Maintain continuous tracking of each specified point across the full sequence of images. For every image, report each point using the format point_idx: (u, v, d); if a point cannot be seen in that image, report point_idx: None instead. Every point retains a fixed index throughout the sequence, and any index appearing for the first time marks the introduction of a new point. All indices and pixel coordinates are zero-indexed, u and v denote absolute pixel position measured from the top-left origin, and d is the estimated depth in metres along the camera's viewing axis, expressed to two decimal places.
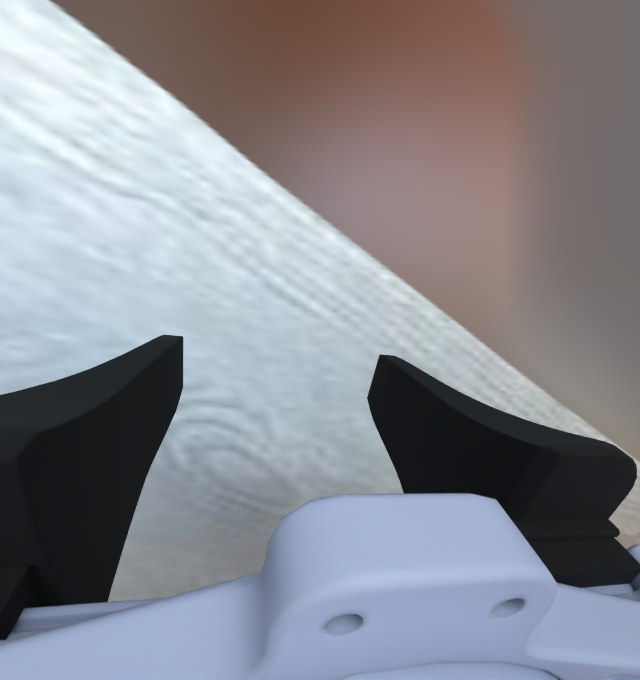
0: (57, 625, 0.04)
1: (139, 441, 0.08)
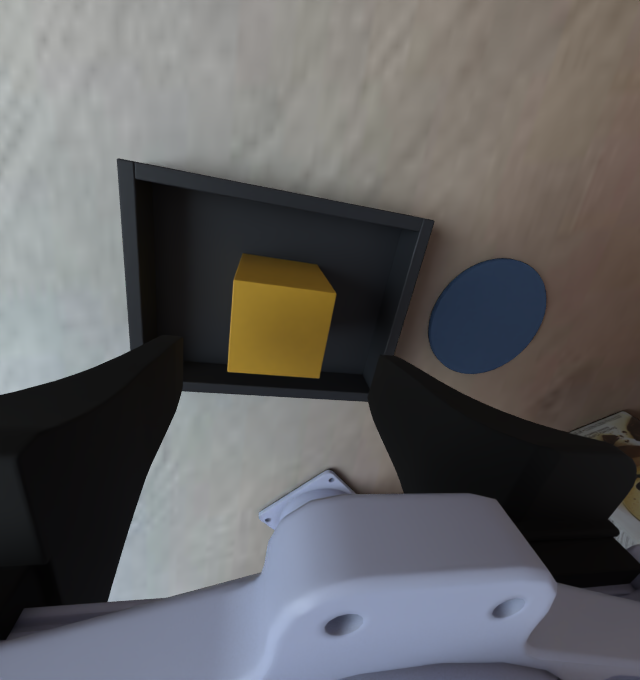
0: (57, 625, 0.04)
1: (139, 441, 0.08)
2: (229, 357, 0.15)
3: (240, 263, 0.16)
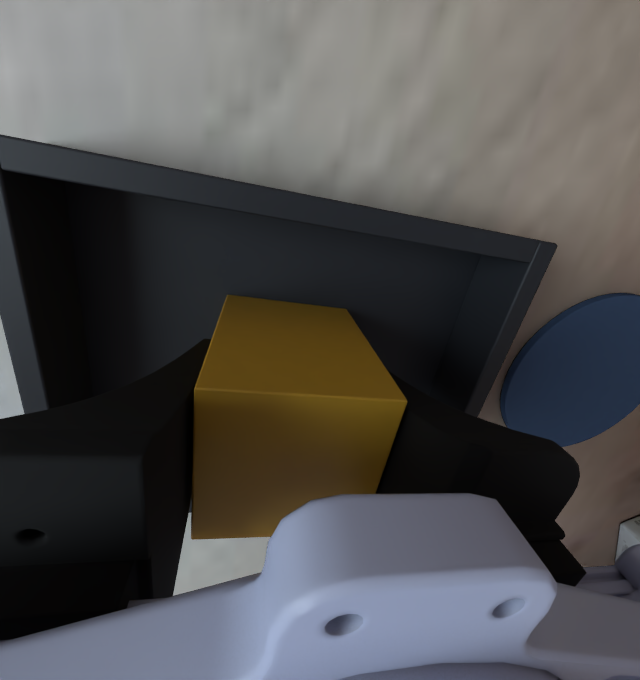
0: None
1: None
2: (194, 518, 0.08)
3: (219, 324, 0.09)
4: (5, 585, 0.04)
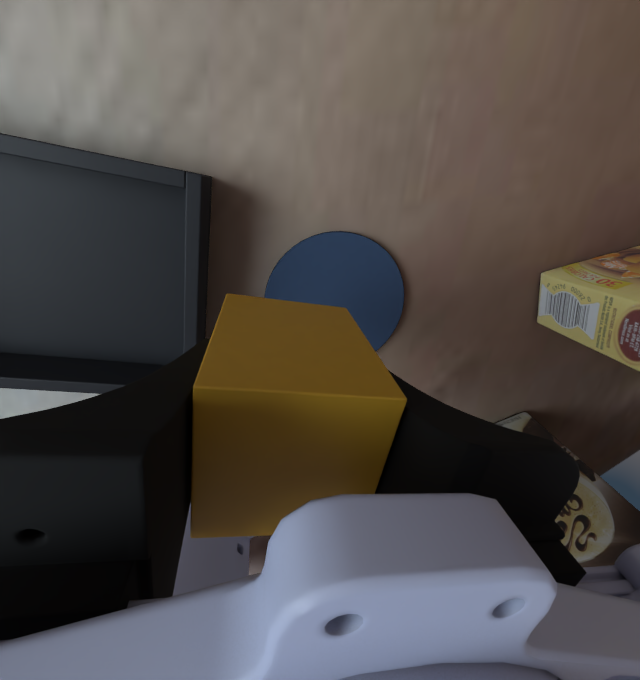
0: None
1: None
2: (193, 516, 0.08)
3: (218, 322, 0.09)
4: (5, 585, 0.04)
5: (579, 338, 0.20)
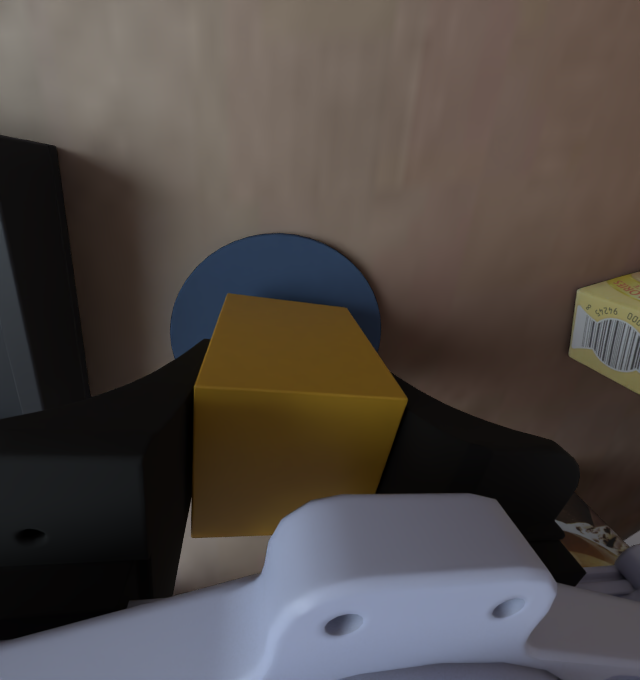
0: None
1: None
2: (193, 516, 0.08)
3: (219, 322, 0.09)
4: (5, 585, 0.04)
5: (638, 388, 0.14)
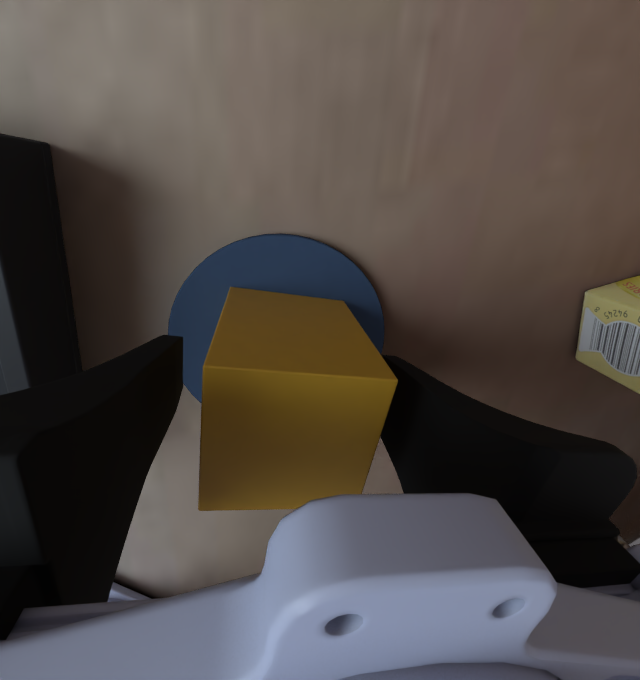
0: (57, 625, 0.04)
1: (139, 441, 0.08)
2: (201, 490, 0.08)
3: (223, 312, 0.10)
4: None
5: None
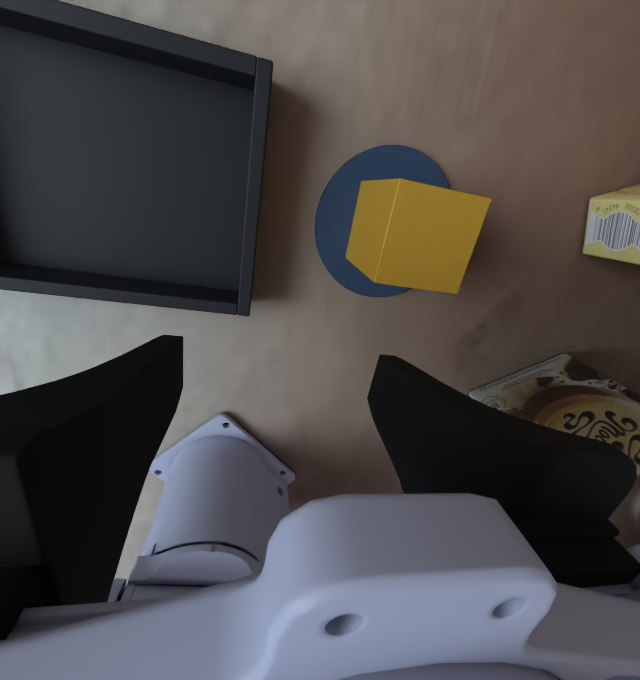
0: (57, 625, 0.04)
1: (139, 441, 0.08)
2: (379, 266, 0.15)
3: None
4: None
5: (633, 258, 0.20)
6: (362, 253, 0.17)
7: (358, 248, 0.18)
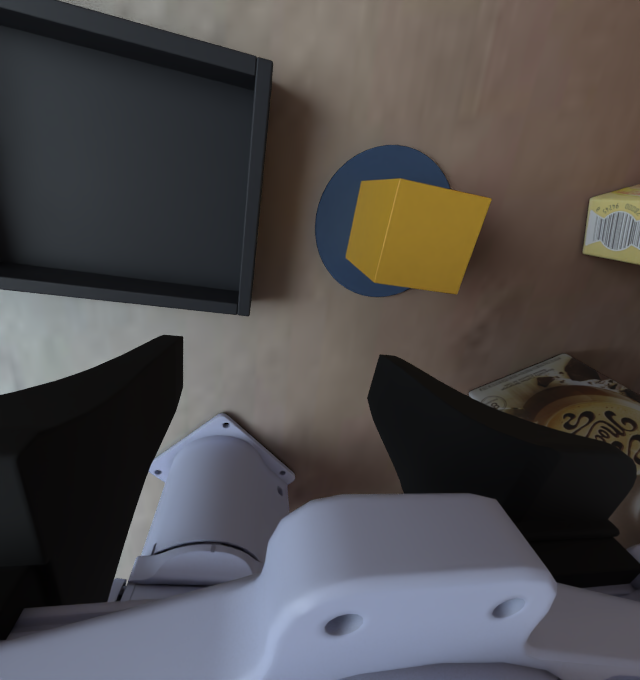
0: (57, 625, 0.04)
1: (139, 441, 0.08)
2: (379, 266, 0.15)
3: None
4: None
5: (633, 258, 0.20)
6: (362, 253, 0.17)
7: (358, 248, 0.18)
